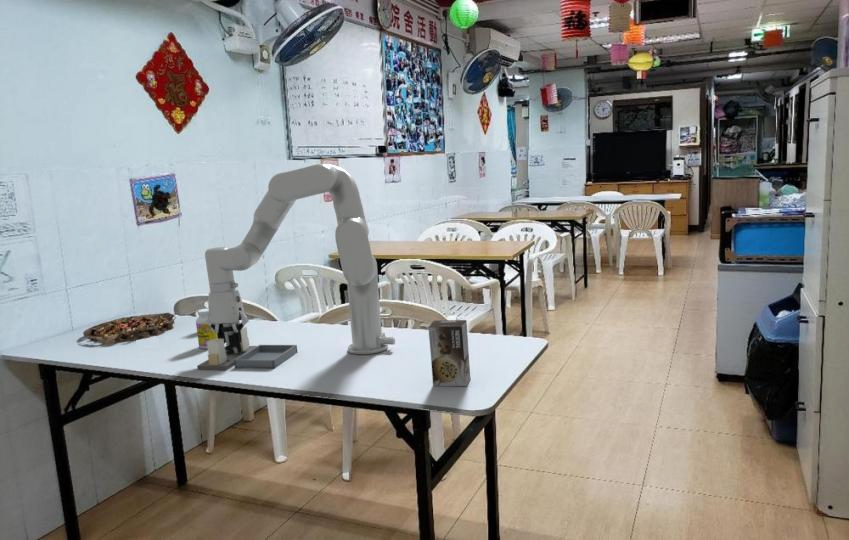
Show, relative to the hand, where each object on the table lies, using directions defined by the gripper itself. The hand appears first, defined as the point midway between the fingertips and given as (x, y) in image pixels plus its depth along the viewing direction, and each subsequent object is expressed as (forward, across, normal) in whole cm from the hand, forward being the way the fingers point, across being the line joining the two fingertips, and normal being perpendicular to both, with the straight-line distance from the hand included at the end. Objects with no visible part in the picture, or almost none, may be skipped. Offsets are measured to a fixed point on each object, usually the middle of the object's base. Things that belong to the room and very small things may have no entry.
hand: (230, 343), depth 205 cm
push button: (+4, 0, 0) cm, 4 cm away
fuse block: (+5, +1, 0) cm, 5 cm away
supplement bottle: (+5, +17, -13) cm, 22 cm away
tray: (+5, -12, +1) cm, 14 cm away
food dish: (+5, +62, -32) cm, 70 cm away
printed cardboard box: (+7, -74, +18) cm, 77 cm away
